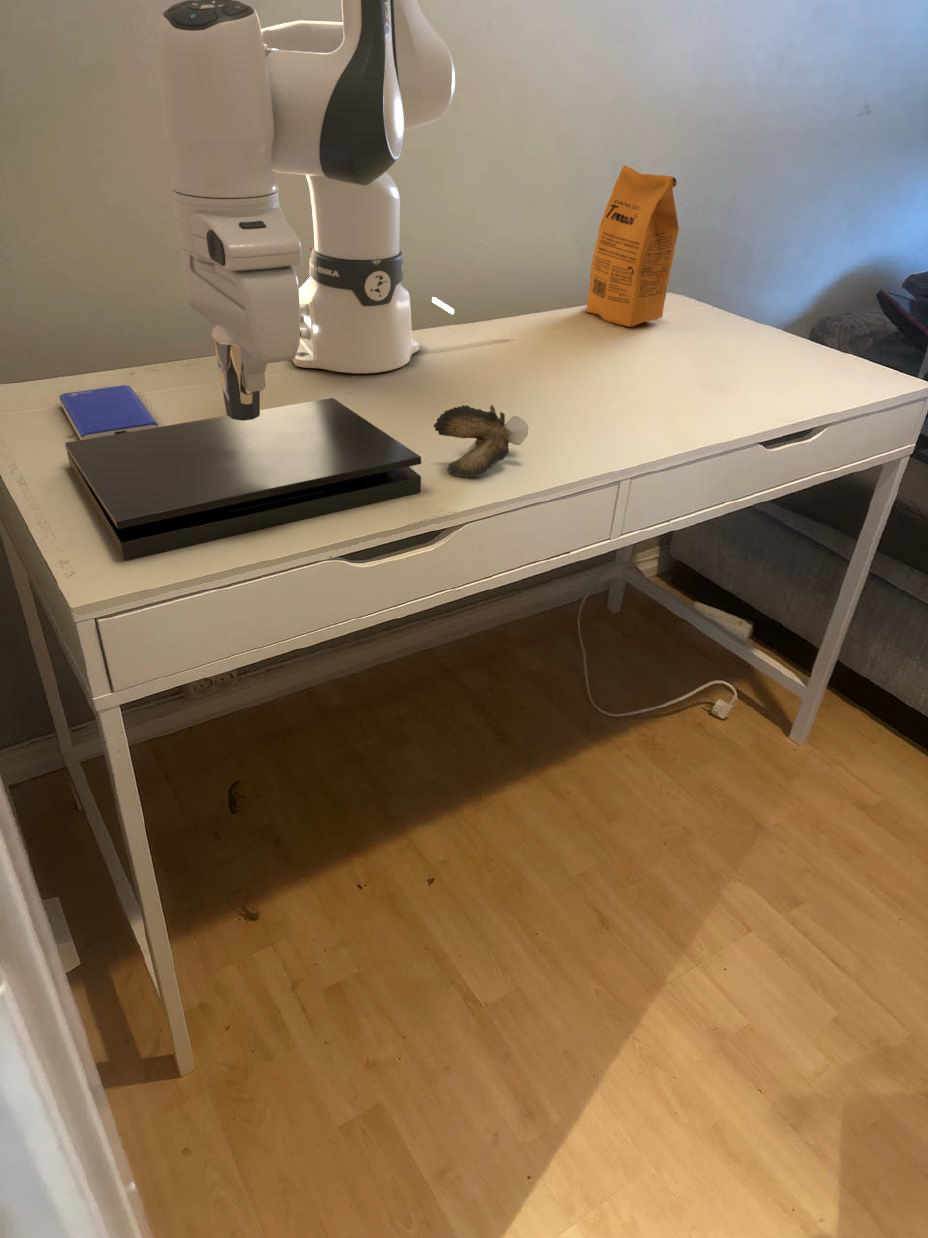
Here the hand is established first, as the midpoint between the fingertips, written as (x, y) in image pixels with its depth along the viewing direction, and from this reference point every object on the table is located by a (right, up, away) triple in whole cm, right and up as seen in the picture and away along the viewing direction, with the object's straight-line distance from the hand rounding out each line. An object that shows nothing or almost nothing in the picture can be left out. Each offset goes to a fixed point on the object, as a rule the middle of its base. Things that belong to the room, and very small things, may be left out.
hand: (244, 379), depth 86 cm
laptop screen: (-1, -7, +5) cm, 9 cm away
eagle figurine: (+23, -6, +13) cm, 27 cm away
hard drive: (-20, 0, +17) cm, 26 cm away
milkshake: (0, -3, +2) cm, 4 cm away
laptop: (-2, -8, +7) cm, 11 cm away
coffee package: (+47, +27, +62) cm, 83 cm away
